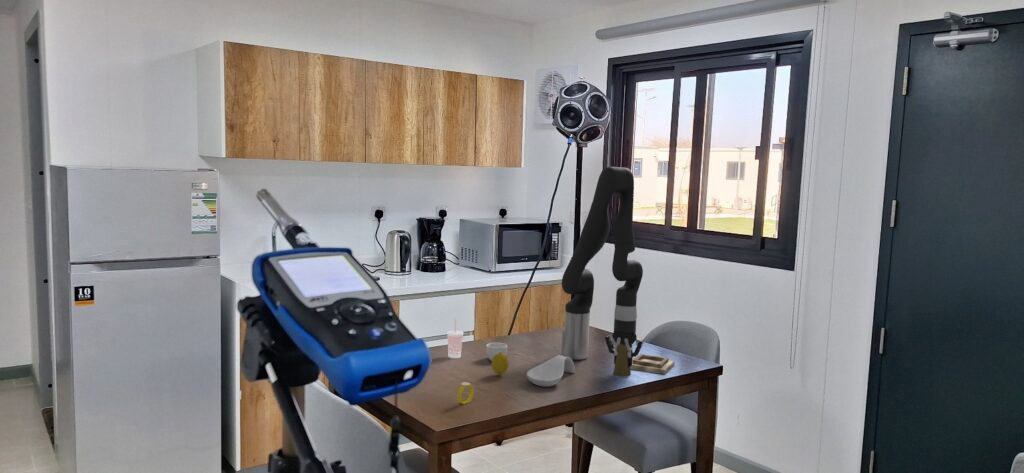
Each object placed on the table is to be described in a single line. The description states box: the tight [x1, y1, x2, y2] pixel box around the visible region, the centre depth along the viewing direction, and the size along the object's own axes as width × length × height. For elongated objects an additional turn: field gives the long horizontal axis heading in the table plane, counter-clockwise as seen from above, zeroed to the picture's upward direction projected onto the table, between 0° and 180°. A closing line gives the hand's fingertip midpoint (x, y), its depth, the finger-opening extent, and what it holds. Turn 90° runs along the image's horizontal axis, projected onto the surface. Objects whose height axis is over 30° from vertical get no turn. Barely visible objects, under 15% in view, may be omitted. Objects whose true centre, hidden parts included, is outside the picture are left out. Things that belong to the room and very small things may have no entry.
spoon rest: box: [526, 354, 576, 388], centre depth 233 cm, size 24×12×7 cm, turn 149°
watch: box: [456, 381, 475, 405], centre depth 207 cm, size 6×3×6 cm, turn 143°
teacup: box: [485, 342, 508, 361], centre depth 256 cm, size 10×8×5 cm
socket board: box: [630, 353, 675, 375], centre depth 254 cm, size 14×14×3 cm
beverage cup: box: [446, 318, 464, 359], centre depth 257 cm, size 6×6×14 cm
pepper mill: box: [613, 344, 632, 377], centre depth 242 cm, size 6×6×11 cm
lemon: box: [491, 352, 509, 376], centre depth 236 cm, size 6×6×8 cm
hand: (623, 366), depth 243 cm, fingers closed on pepper mill, 3 cm apart
